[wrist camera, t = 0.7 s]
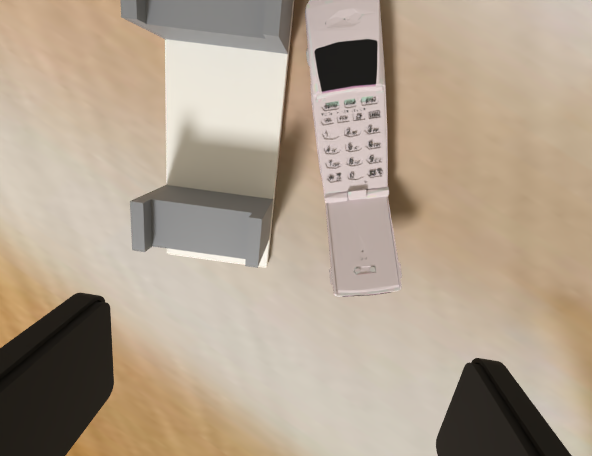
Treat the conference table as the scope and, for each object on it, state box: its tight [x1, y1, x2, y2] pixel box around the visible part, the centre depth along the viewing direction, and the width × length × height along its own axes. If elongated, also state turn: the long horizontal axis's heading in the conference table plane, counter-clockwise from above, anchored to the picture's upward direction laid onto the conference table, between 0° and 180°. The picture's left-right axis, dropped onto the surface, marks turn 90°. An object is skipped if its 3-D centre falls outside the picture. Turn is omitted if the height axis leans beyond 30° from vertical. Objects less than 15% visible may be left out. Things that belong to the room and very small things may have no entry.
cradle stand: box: [121, 0, 294, 268], centre depth 26 cm, size 26×10×7 cm, turn 173°
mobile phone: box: [305, 0, 402, 297], centre depth 27 cm, size 6×6×25 cm
